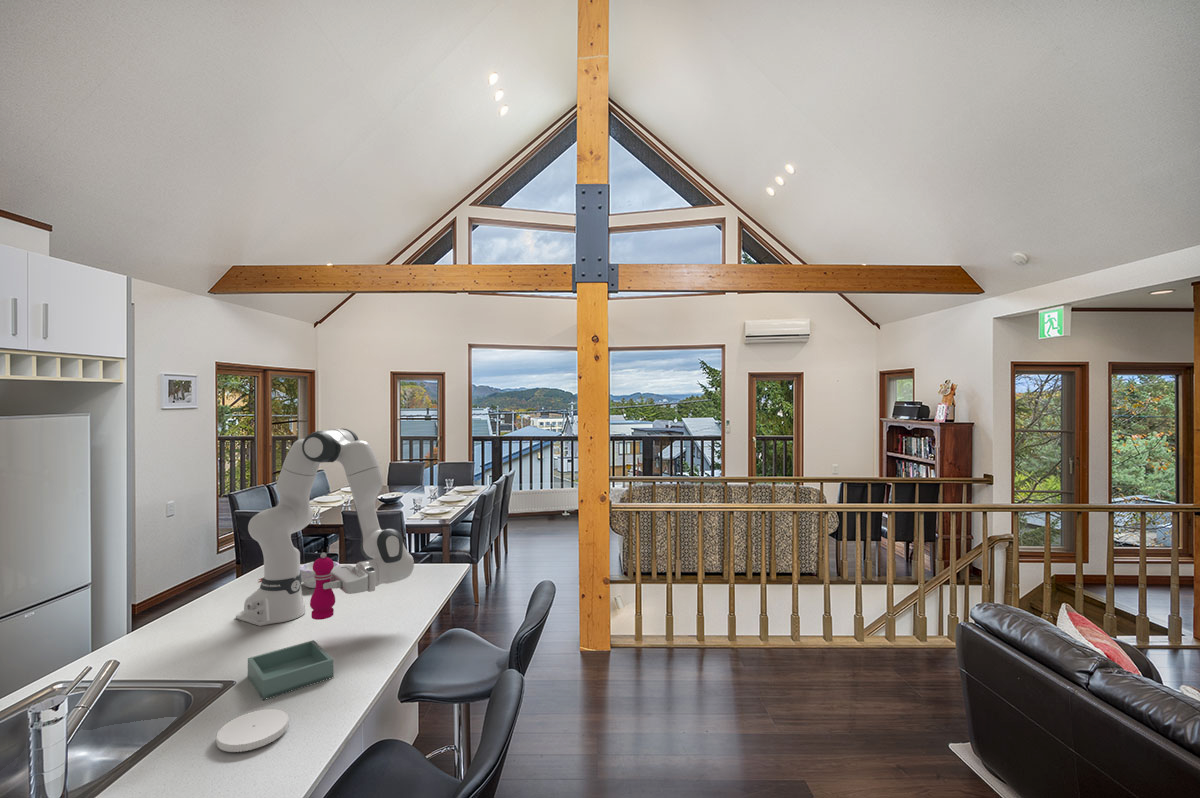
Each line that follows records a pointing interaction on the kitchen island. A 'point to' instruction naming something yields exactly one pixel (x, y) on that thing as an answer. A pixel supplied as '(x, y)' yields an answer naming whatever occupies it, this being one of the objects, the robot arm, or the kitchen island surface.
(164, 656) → the kitchen island surface
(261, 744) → the plastic lid
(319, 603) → the pepper mill
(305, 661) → the tote
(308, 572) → the white bowl
